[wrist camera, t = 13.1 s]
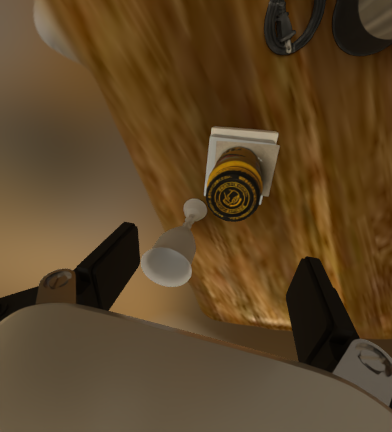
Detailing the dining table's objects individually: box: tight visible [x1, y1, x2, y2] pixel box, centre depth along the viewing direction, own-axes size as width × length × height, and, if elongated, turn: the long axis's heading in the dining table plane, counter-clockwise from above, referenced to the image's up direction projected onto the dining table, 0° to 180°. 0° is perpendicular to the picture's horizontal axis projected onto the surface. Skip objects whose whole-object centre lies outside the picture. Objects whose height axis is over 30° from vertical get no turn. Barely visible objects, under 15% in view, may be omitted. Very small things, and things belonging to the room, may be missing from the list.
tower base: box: [211, 126, 279, 143], centre depth 35 cm, size 10×10×4 cm
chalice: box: [141, 199, 207, 287], centre depth 35 cm, size 7×7×18 cm
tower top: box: [204, 134, 276, 205], centre depth 32 cm, size 9×9×4 cm
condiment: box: [206, 141, 280, 222], centre depth 24 cm, size 7×8×12 cm
